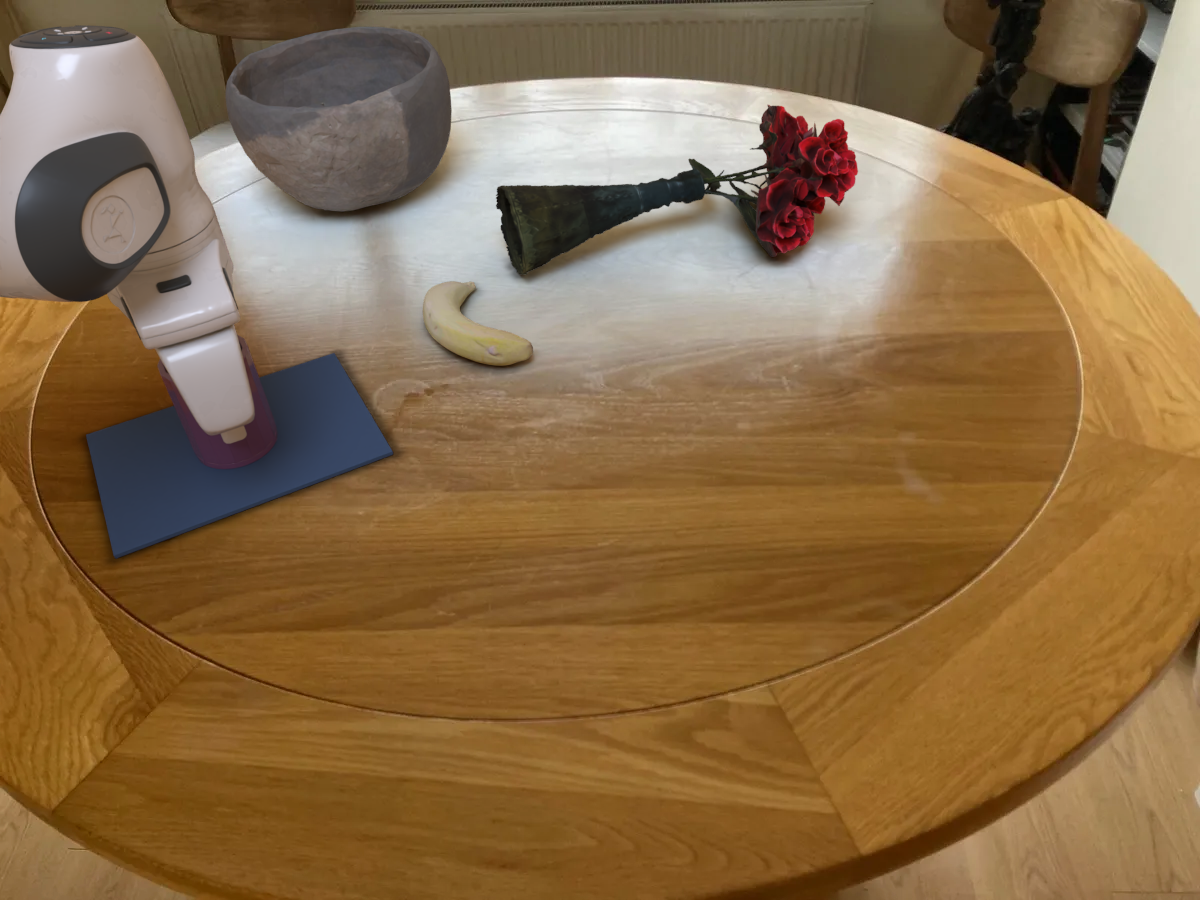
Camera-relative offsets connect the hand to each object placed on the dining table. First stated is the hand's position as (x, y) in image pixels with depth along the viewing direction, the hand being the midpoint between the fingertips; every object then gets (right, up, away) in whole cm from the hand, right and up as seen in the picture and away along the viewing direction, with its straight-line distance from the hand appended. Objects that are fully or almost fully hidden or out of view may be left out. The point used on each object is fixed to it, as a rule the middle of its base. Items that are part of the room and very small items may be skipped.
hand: (223, 408), depth 78 cm
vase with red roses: (+39, +18, +23) cm, 49 cm away
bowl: (+2, +28, +37) cm, 46 cm away
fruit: (+19, +8, +13) cm, 25 cm away
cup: (0, -3, +2) cm, 4 cm away
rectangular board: (0, -3, +3) cm, 4 cm away
